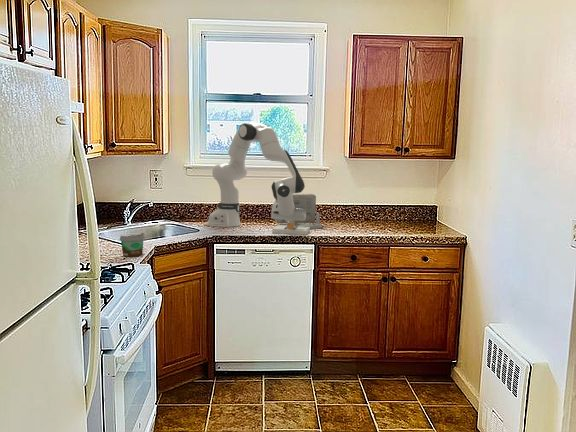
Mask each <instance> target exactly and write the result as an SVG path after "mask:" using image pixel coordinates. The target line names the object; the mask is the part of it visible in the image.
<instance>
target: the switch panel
mask: <svg viewBox="0 0 576 432" xmlns="http://www.w3.org/2000/svg"><path fill="white" fill-rule="evenodd" d="M271 230H272V231H271V232H272V234H281V235H295V236H298V235H299V236H300V235H301V236H306V235H308V233H309V232H310V231H311V229H310V227H302V226H298V225H296V226H294V228H293V229H287V225H280V224H277V225H276V226H274V227H273V228H272V229H271Z"/></svg>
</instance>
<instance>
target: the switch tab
mask: <svg viewBox="0 0 576 432" xmlns="http://www.w3.org/2000/svg"><path fill="white" fill-rule="evenodd" d="M286 224H287V225H286V226H287V229H293V228H294V220H293V222H292V223H286Z"/></svg>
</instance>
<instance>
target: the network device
mask: <svg viewBox="0 0 576 432" xmlns="http://www.w3.org/2000/svg"><path fill="white" fill-rule="evenodd" d="M292 195H293V202H294V205H295V208H302V209H304V210H305V211H306V220H305V221H299V220H294V226H296V225H298V226H299V225H300V224H312V223H316V213H317V212H316V208H317V207H316V206H317V205H316V203H317V196H316V195H315V194H313V193H294V194H292ZM276 202H278V201H277V200H276V199H275V202H274V203H276ZM274 222H275V223H277V224H279V225H284V226H287V224H288V223H287V222H286V221H285V220H282V219H274Z"/></svg>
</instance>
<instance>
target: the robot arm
mask: <svg viewBox="0 0 576 432" xmlns="http://www.w3.org/2000/svg"><path fill="white" fill-rule="evenodd" d="M252 143H259V145H260V147H259V148H260V150H261V153H262V155H263V157H264V158H265V159H267V160H268V161H271V162H279V163H284V164H285V165H286V166H287V168H288V170H289V173H290V174H291V176H288V177H285V178H279V179H277V180H274V181H273V182H272V184H271V191H272V195H273V198H274V199H275V200H277V201H278V202H276V203H275V202H273V203H272V206H271V213H270V217H271V219H272V220H275V219H282V220H285V221H286V222H287V223H286V224H288V223H292V222H293V220H299V221H305V220H306V211H305V210H304V209H302V208H295V205H294V202H293V195H292V194H301V193H302V192H303V191H304V189H305V186H306V185H305V181H304V178H303V177H302V176H301V174H300V172H299V171H298V168H297V166H296V164H295V163H294V160H293V158H292V157H291V155H290V153H289V151H287V150H286V149H283V148H282V146H281V144H280V140H279V138H278V136H277V134H276V132H275V130H274V129H273V128H272V127H271V126H270V125H268V124H264V123H259V122H244V123H242V124H240V125H239V127H238V129H237V131H235V134H234V136H233V139H232V140H231V143H230V146H229V148H228V151H227V152H228V153H227V154H228V156H229V157H230V160H229V162H224V163H219V164H218V163H217V164H215V165H214V166H213V168H212V171H211V173H212V177H213V178H214V180H216V182H217V184H218V185H219V186H218V187H219V189H220V202H219V203H217V209H215V210H214V211H213V212H211V213H210V214H209V215H208V221H205V222H204V225H205V226H208V227H219V228H230V227H232V228H233V227H238V226H241V220H240V203H239V198H240V197H239V189H238V188H237V187H236V186H235V184H234V181H240V180H242V179H244V178H245V177H246V176H247V173H248V170H247V166H246V164H245V162H246V157H247V154H248V153H249V152H248V151H249V149H250V147H251V144H252Z"/></svg>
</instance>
